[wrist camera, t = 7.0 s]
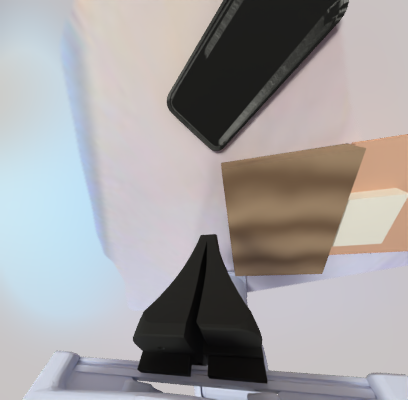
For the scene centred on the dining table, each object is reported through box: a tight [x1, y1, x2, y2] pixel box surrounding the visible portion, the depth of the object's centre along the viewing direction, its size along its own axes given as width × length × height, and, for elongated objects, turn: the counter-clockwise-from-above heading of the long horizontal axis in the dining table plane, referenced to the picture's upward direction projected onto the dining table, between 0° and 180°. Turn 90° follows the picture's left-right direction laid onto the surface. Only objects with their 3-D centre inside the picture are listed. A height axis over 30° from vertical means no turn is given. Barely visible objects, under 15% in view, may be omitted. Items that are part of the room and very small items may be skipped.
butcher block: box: [221, 144, 366, 276], centre depth 21 cm, size 20×14×2 cm
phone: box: [167, 0, 349, 151], centre depth 14 cm, size 8×1×15 cm
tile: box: [332, 188, 408, 247], centre depth 20 cm, size 8×6×2 cm
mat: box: [329, 134, 408, 255], centre depth 19 cm, size 18×16×1 cm
